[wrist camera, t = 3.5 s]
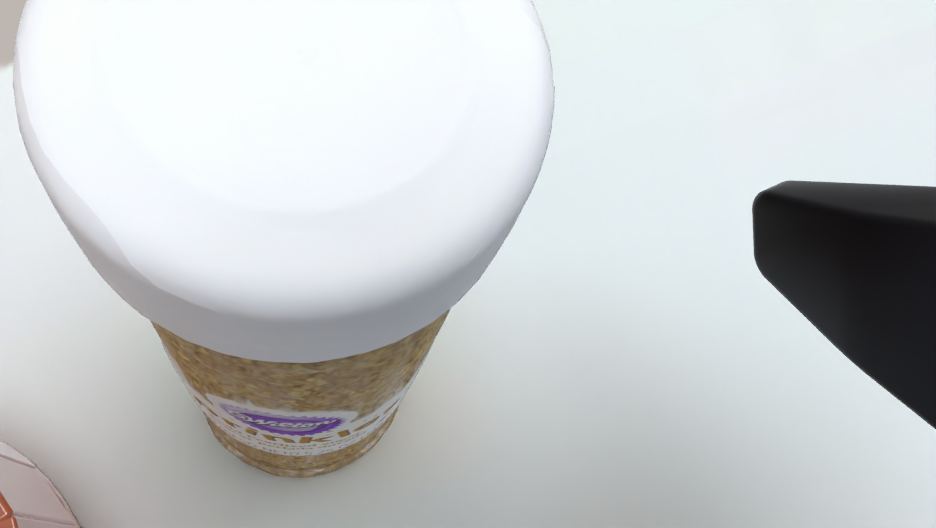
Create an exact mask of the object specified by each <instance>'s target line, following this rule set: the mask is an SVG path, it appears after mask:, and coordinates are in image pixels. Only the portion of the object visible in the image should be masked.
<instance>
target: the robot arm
mask: <svg viewBox="0 0 936 528" xmlns="http://www.w3.org/2000/svg"><path fill="white" fill-rule="evenodd" d="M752 214H753V241H754V258H755V261H756V264H757V266H758V269H759V270H760V272H761V273H762V275H763V276H764V277H765V278H766V279H767V280H768V281H769V282H770V283H771V284H772V285H773V286H774V287H775V288H776V289H777V290H778V291H779V292H780V293H781V294H782V295H783V296H784V297H785V298H786V299H787V300H788V301H789V302H790V303H792V304H793V305H794V306H795V307H796V308H797V309H798V310H799V311H800V312H801V313H802V314H803V315H804V316H805V317H806V318H807V319H808V320H809V321H810V322H811V323H812V324H813V325H814V326H815V327H816V328H817V329H818V330H819V331H820V332H821V333H822V334H823V335H824V336H825V337H826V338H827V339H828V340H829V341H830V342H831V343H833V344H834V345H835V346H836V347H837V348H838V349H839V350H840V351H841V352H842V353H843V354H844V355H845V356H846V357H847V358H848V359H850V360H851V361H852V362H853V363H854V364H855V365H856V366H858V367H859V368H860V369H861V370H862V371H864V372H865V373H866V374H867V375H868V376H870V377H871V378H872V379H873V380H875V381H876V382H877V383H878V384H880V385H881V386H882V387H883V388H885V389H886V390H887V391H888V392H890V393H891V394H892V395H893V396H895V397H896V398H897V399H898V400H900V401H901V402H902V403H903V404H905V405H906V406H907V407H908V408H910V409H911V410H912V411H914V412H915V413H916V414H917V415H919V416H920V417H921V418H922V419H924V420H925V421H926V422H927V423H929V424H930V425H931V426H932V427H934V428H935V429H936V187H928V186H904V185H881V184H858V183H835V182H811V181H785V182H782V183H779V184H777V185H775V186H773V187H771V188H768V189H766V190H764V191H762V192H760V193H759V194H758V195H757V196H756V197H755V199H754V202H753V206H752Z"/></svg>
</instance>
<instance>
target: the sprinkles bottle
mask: <svg viewBox="0 0 936 528" xmlns="http://www.w3.org/2000/svg"><path fill="white" fill-rule="evenodd" d="M13 88H14V95H15V103H16V110H17V117H18V123H19V128H20V132H21V135H22V138H23V141H24V144H25V147H26V150H27V153H28V156H29V158H30V160H31V163H32V165H33V167H34V169H35V171H36V173H37V175H38V177H39V179H40V181H41V183H42V185H43V186H44V188H45V190H46V192H47V194H48V196H49V198H50V200H51V201H52V203H53V205H54V207H55V209H56V210H57V212H58V214H59V216H60V217H61V219H62V221H63V222H64V224H65V225H66V227H67V228H68V230H69V231H70V233H71V234H72V236H73V237H74V239H75V241H76V242H77V244H78V245H79V247H80V248H81V249H82V251H83V252H84V254H85V255H86V257H87V258H88V260H89V261H90V263H91V264H92V266H93V267H94V268H95V269H96V271H97V272H98V273H99V274H100V275H101V276H102V278H103V279H104V280H105V281H106V282H107V283H108V284H109V285H110V286H111V287H112V288H113V289H114V290H115V291H116V292H117V293H118V294H119V295H120V296H121V297H122V298H123V299H124V300H125V301H126V302H127V303H128V304H129V305H131V306H132V307H133V308H134V309H136V310H137V311H138V312H139V313H141V314H142V315H143V316H145V317H146V318H148V319H150V321H151V322H152V324H153V326H154V328H155V329H156V331H157V333H158V335H159V336H160V338H161V341H162V343H163V346H164V349H165V351H166V353H167V355H168V357H169V359H170V361H171V363H172V365H173V367H174V368H175V370H176V371H177V373H178V374H179V376H180V378H181V379H182V381H183V383H184V385H185V386H186V388H187V389H188V391H189V392H190V394H191V395H192V397H193V398H194V400H195V401H196V403H197V404H198V406H199V407H200V408H201V410H202V411H203V413H204V414H205V416H206V418H207V421H208V423H209V425H210V427H211V429H212V431H213V433H214V435H215V436H216V438H217V439H218V440H219V442H220V443H221V444H222V445H223V446H224V447H225V448H226V449H228V450H229V451H230V452H232V453H233V454H235V455H236V456H237V457H238V458H239V459H241V460H242V461H244V462H246V463H248V464H250V465H252V466H254V467H257V468H259V469H262V470H264V471H267V472H269V473H271V474H274V475H278V476H294V477H300V478H302V477H309V476H314V475H319V474H324V473H327V472H330V471H334V470H337V469H339V468H341V467H343V466H345V465H347V464H349V463H351V462H353V461H354V460H356V459H357V458H359V457H361V456H362V455H364V454H365V453H366V452H368V451H369V450H370V449H371V448H372V447H373V446H374V445H375V444H376V443H377V442H378V441H379V440H380V438H381V436H382V435H383V434H384V432H385V431H386V430H387V429H388V427H389V426H390V424H391V423H392V420H393V418H394V415H395V413H396V411H397V409H398V406H399V404H400V402H401V401H402V399H403V397H404V396H405V394H406V392H407V390H408V389H409V387H410V385H411V383H412V382H413V380H414V378H415V377H416V375H417V373H418V371H419V369H420V368H421V366H422V364H423V362H424V360H425V358H426V356H427V354H428V352H429V350H430V348H431V346H432V344H433V342H434V339H435V337H436V336H437V334H438V332H439V330H440V329H441V327H442V325H443V323H444V321H445V319H446V317H447V315H448V313H449V311H450V309H451V307H452V306H454V305H455V304H456V303H457V302H458V301H459V300H460V299H461V298H462V297H463V296H464V295H465V294H466V293H467V292H468V291H469V290H470V289H471V287H472V286H473V285H474V284H475V283H476V282H477V281H478V280H479V279H480V277H481V276H482V274H483V273H484V271H485V270H486V268H487V267H488V265H489V264H490V262H491V261H492V260H493V258H494V257H495V255H496V254H497V252H498V250H499V249H500V247H501V245H502V244H503V242H504V240H505V239H506V237H507V236H508V234H509V232H510V231H511V229H512V227H513V225H514V223H515V221H516V220H517V218H518V216H519V214H520V212H521V210H522V208H523V206H524V204H525V202H526V200H527V199H528V197H529V195H530V193H531V191H532V189H533V186H534V184H535V182H536V179H537V177H538V175H539V172H540V169H541V166H542V163H543V160H544V157H545V153H546V150H547V147H548V142H549V137H550V133H551V127H552V118H553V110H554V92H555V87H554V82H553V71H552V63H551V57H550V50H549V46H548V43H547V39H546V36H545V33H544V29H543V26H542V23H541V21H540V18H539V15H538V13H537V10H536V8H535V6H534V4H533V1H532V0H27V2H26V4H25V7H24V10H23V13H22V16H21V20H20V24H19V28H18V32H17V36H16V46H15V52H14V69H13Z"/></svg>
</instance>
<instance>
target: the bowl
mask: <svg viewBox="0 0 936 528" xmlns="http://www.w3.org/2000/svg"><path fill="white" fill-rule="evenodd" d="M0 528H80V526H79V525H78V523H77V521H76V519H75V517H74V515H73V513H72V511H71V510H70V508H69V506H68V504H67V502H66V501H65V500H64V498H63V497H62V496H61V494H60V493H59V491H58V490H57V489H56V487H55V486H54V485H53V483H52V482H51V481H50V480H49V479H48V478H47V477H46V476H45V475H44V474H43V473H42V472H41V471H40V470H39V469H38V468H37V467H36V466H35V465H34V464H33V463H32V462H31V461H30V460H29V459H28V458H26V457H25V456H23V455H22V454H21V453H19V452H18V451H17V450H15V449H14V448H13V447H11V446H10V445H8V444H7V443H5V442H3V441H1V440H0Z"/></svg>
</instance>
